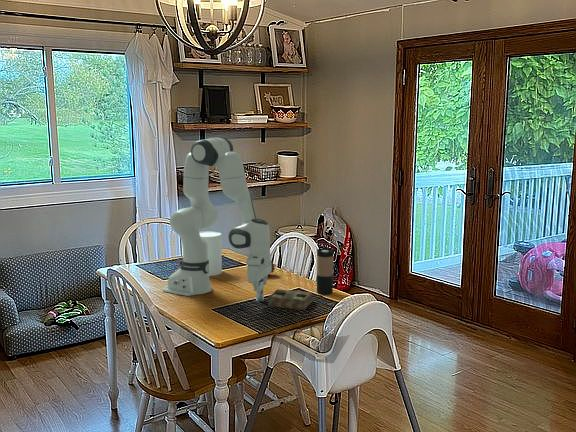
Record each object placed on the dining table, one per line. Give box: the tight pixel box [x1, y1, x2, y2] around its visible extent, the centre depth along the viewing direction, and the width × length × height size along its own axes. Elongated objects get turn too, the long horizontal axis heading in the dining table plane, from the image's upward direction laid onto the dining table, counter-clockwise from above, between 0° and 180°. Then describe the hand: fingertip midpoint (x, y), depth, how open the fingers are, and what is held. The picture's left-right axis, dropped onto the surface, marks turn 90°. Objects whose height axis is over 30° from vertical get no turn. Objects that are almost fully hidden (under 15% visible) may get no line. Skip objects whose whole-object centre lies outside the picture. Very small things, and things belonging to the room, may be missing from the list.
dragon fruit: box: [268, 261, 276, 276], centre depth 304 cm, size 8×8×12 cm
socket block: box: [267, 288, 313, 311], centre depth 260 cm, size 16×12×4 cm
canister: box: [199, 231, 223, 277], centre depth 308 cm, size 14×14×20 cm
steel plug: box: [255, 278, 265, 303], centre depth 264 cm, size 3×3×10 cm
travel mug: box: [316, 247, 335, 296], centre depth 275 cm, size 8×8×20 cm
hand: (260, 287), depth 264 cm, fingers open, 8 cm apart
